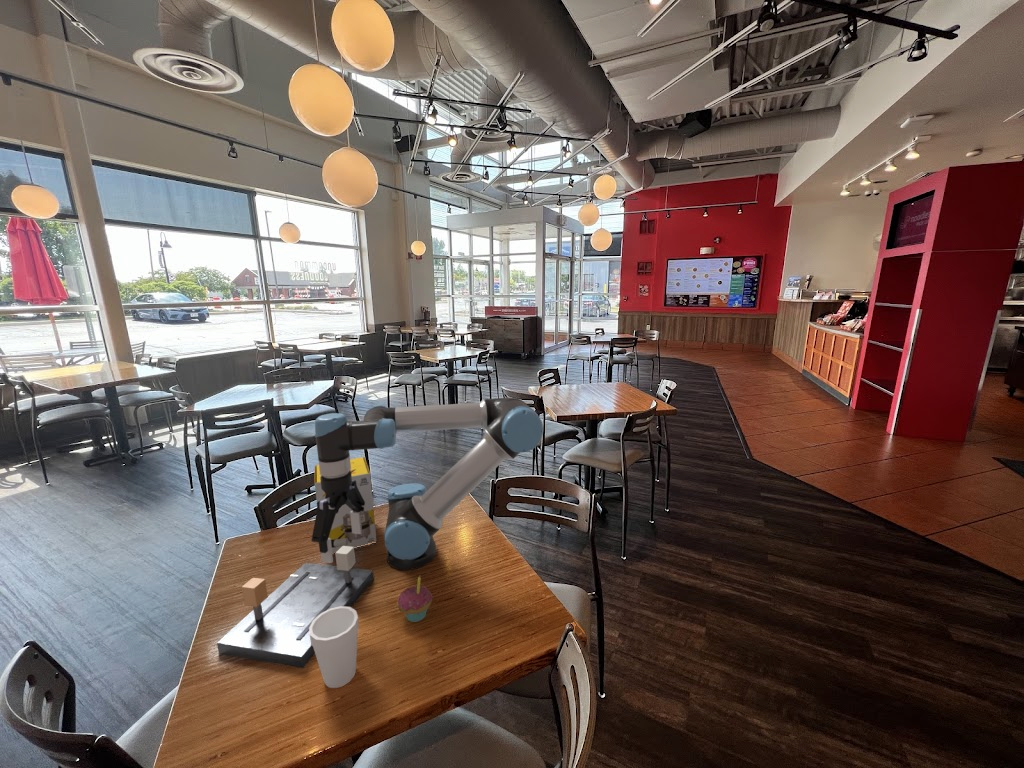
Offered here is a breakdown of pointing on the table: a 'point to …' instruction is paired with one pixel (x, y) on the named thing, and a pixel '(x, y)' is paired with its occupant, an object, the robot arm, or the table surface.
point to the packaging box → (342, 520)
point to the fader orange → (255, 595)
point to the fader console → (293, 615)
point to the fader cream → (345, 561)
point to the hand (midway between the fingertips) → (343, 546)
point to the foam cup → (336, 644)
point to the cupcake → (415, 602)
